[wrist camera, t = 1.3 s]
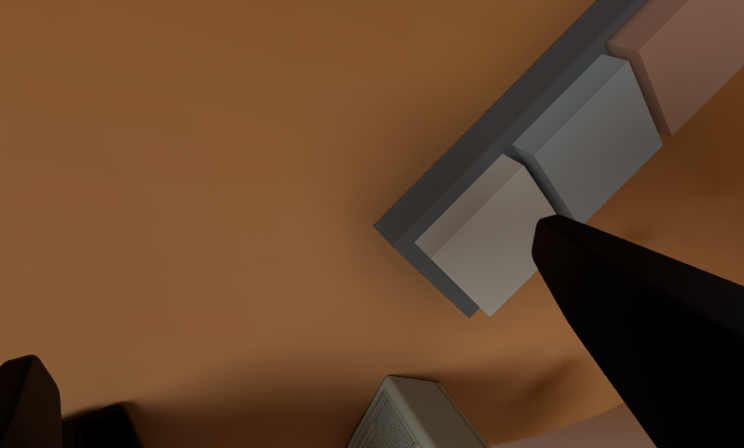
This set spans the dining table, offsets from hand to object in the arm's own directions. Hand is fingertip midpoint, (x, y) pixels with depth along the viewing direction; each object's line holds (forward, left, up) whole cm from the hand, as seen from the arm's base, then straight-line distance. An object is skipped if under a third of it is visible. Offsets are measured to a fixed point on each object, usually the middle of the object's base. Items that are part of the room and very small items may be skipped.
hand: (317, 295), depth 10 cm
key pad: (-4, -16, -13) cm, 21 cm away
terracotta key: (-1, -22, -11) cm, 24 cm away
